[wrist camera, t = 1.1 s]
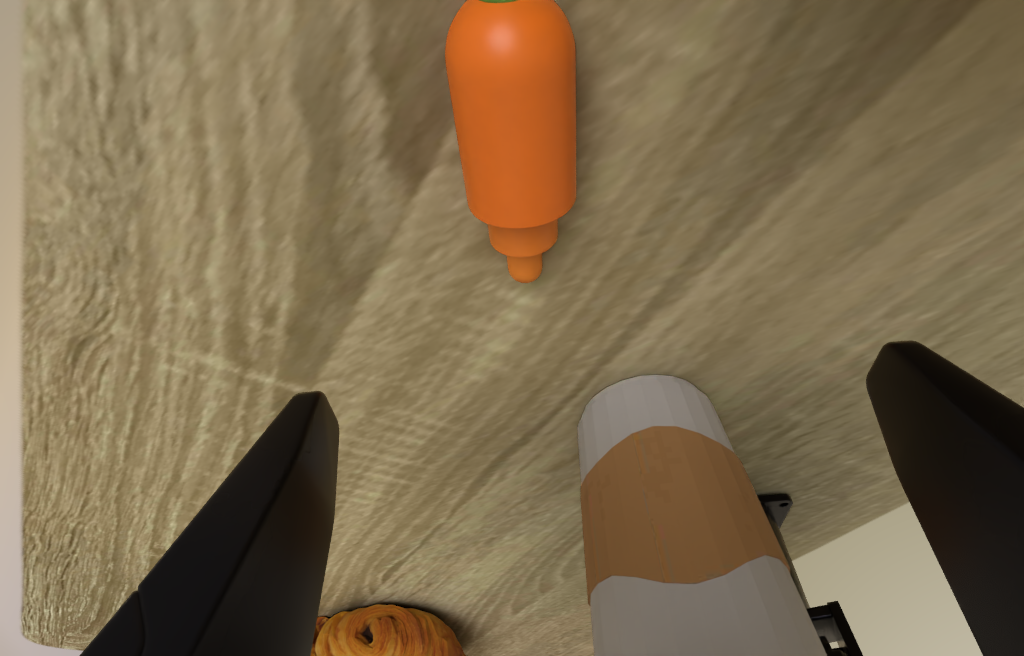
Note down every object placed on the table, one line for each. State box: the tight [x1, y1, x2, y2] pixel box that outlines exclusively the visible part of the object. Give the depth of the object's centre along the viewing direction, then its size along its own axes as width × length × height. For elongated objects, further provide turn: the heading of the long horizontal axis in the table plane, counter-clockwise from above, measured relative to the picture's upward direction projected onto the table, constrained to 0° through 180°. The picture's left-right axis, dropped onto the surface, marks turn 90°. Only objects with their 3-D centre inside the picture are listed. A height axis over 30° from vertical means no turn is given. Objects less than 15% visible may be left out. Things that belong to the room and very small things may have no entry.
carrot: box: [445, 0, 576, 283], centre depth 16 cm, size 10×3×3 cm, turn 5°
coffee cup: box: [578, 375, 827, 656], centre depth 23 cm, size 8×8×15 cm
